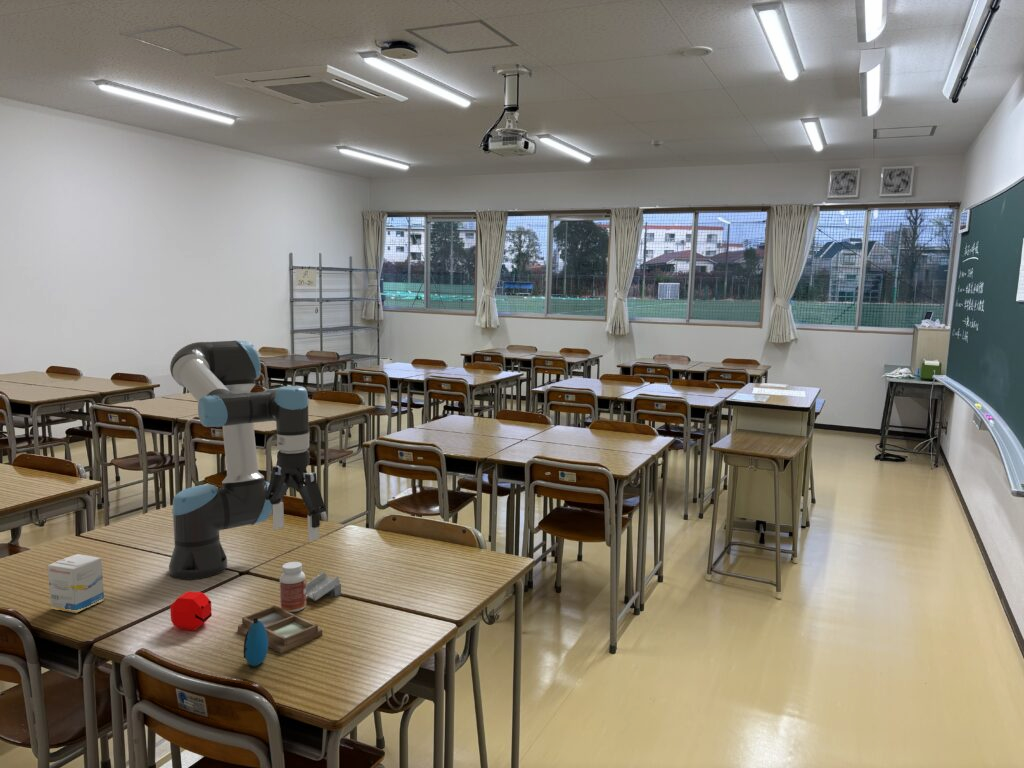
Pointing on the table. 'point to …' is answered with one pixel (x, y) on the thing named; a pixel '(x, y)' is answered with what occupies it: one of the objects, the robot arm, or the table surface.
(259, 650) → the ornament
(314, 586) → the feeder chute
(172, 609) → the ball
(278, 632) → the divided sorting tray
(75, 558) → the ink box
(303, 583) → the pill bottle
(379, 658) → the table surface
